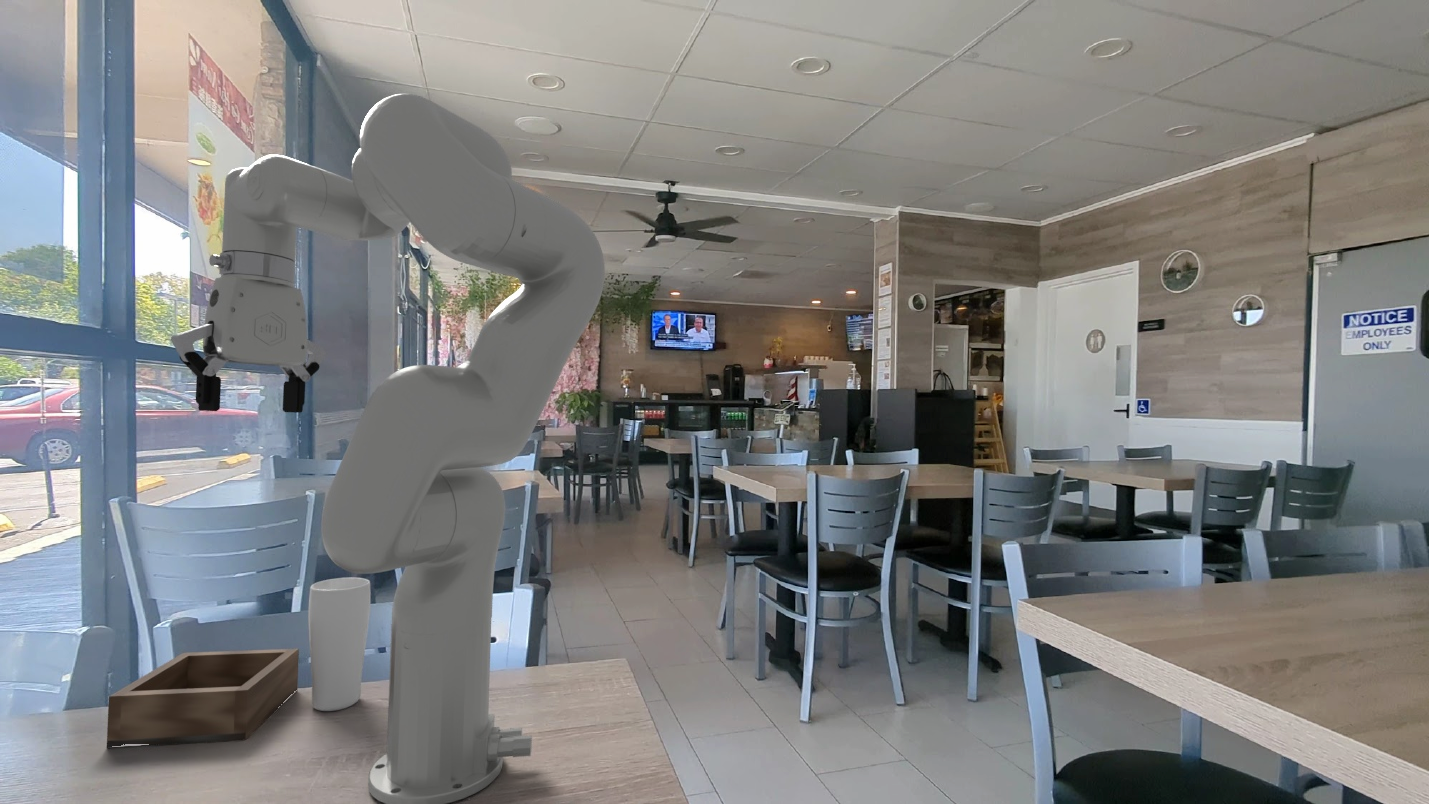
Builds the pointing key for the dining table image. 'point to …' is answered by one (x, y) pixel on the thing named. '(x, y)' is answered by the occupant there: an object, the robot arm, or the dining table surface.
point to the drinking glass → (338, 640)
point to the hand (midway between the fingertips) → (252, 411)
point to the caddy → (203, 698)
